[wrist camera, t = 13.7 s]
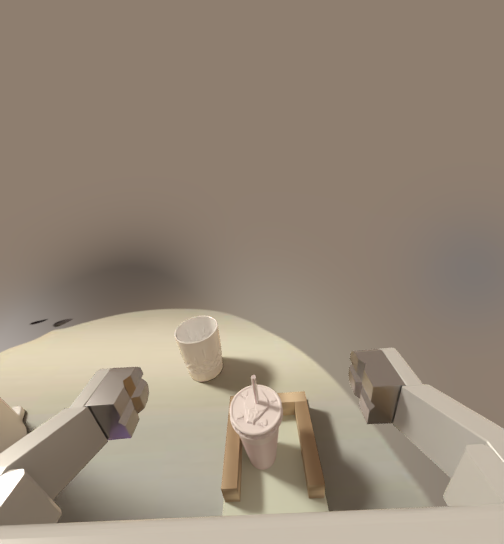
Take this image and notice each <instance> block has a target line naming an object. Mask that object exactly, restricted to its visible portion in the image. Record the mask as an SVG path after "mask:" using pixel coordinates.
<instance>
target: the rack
mask: <svg viewBox="0 0 504 544" xmlns="http://www.w3.org/2000/svg"><path fill="white" fill-rule="evenodd" d="M277 394H278V396H279V397H280V399H281V402H282V408H283V415H295V417H296V423H297V430H298V436H299V442H300V448H301V454H302V460H303V466H304V473H305V479H306V485H307V491H308V497H309V498H324V496H325V482H324V477H323V473H322V468H321V464H320V459H319V454H318V450H317V445H316V441H315V436H314V432H313V427H312V423H311V418H310V414H309V409H308V405H307V400H306V396H305V391H304V392H289V393H277ZM233 398H234V396H230V404H231V401H232V399H233ZM242 446H243V443H242V441H241V438H240V436H239V434H238V433H237V432H236V431H235V430H234V428H233V427H232V424H231V421H230V405H229V415H228V425H227V435H226V445H225V455H224V465H223V476H222V486H221V490H222V493H223V497H224V500H225V502H240V497H241V472H242Z"/></svg>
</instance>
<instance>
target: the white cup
mask: <svg viewBox="0 0 504 544" xmlns="http://www.w3.org/2000/svg"><path fill="white" fill-rule="evenodd" d="M174 336H175V339H176V342H177V344H178V347H179V350H180V352H181V355H182V358H183V360H184V363H185V365H186V367H187V369H188V372H189V374H190V376H191V377H192V379H193V380H196V381H198V382H204V381H209V380H211V379H213V378H215V377H216V376H217V375H218V374H219V373H220V372H221V370H222V368H223V362H222V351H221V343H220V336H219V330H218V323H217V321H216V320H215V319H214V318H212V317H210V316H196V317H192V318H190V319H187V320H185V321H184V322H182V323H181V324H180V325H179V326H178V327H177V328H176V330H175V333H174Z"/></svg>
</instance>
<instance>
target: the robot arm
mask: <svg viewBox="0 0 504 544" xmlns="http://www.w3.org/2000/svg"><path fill="white" fill-rule="evenodd" d="M350 360H351V362H352V365H351V366H350V367H349V381H350V385H351V388H352V390H353V393H354V394H355V395H356V396H357V397H358V398H360V402H359V407H360V409H361V411H362V413H363V416H364V418H365V420H366V422H367V424H383V423H384V424H385V423H393V425H394V426H395V427H396V428H397V429H398V430H399V431H401V433H402V434H404V435H405V436H406V437H407V438H408V439H409V440H410V441H411V442H412V443H413V444H414V445H416V446H417V447H418V448H419V449H420V450H421V451H422V452H423V453H424V454H425V455H426V456H427V457H428V458H430V459H431V460H432V461H433V462H434V463H435V464H436V465H437V466H438V467H439V468H440V469H441V470H443V471H444V472H445V473H446V474H447V475H448V476H449V477H450V478H451V479H450V482H449V484H448V486H447V488H446V491H445V493H444V496H443V497H444V499H445V501H446V503H447V505H448V506H445V507H444V506H443V507H419V508H396V509H373V510H349V511H326V512H303V513H280V514H257V515H234V516H211V517H188V518H165V519H142V520H119V521H96V522H73V523H57V522H58V520H59V518H60V517H61V515H62V513H61V509H60V508H59V507H58V506H57V504H56V503H55V502H54V501H53V500H54V498H55V497H56V496H57V495H58V494H59V493H60V492H61V491H62V490H63V489H64V488H65V487H66V486H67V485H68V484H69V483H70V481H71V480H72V479H73V478H74V477H75V476H76V475H77V474H78V473H79V472H80V471H81V470H82V469H83V468H84V467H85V466H86V464H87V463H88V462H89V461H90V460H91V459H92V458H93V457H94V456H95V455H96V454H97V453H98V452H99V451H100V450H101V449H102V447H103V446H104V445H105V444H106V443H107V442H108V440H114V439H125V438H131V437H132V435H133V433H134V431H135V428H136V426H137V424H138V422H139V416H138V413H139V412H141V411H142V410H143V409H144V408H145V406H146V403H147V401H148V395H149V388H148V384H147V382H146V381H145V380H143V379H142V378H141V377H142V375H143V372H142V370H141V368H140V367H126V368H110V369H100V370H98V371H97V372H96V373H95V374H94V375H93V377H92V378H91V379H90V381H89V382H88V383H87V385H86V386H85V387H84V389H83V390H82V391H81V393H80V394H79V395H78V397H77V398H76V399H75V401H74V402H73V403H72V404H71V406H70V407H69V408H64V409H63V410H62V411H60V412H59V413H57V414H56V415H54V416H53V417H52V418H50V419H49V420H47V421H46V422H44V423H43V424H42V425H40V426H39V427H37V428H36V429H35V430H33V431H32V432H30V433H29V434H27V430H26V427H25V425H24V423H23V417H24V413H25V410H24V409H23V408H22V407H21V406H15V407H10V406H9V405H8V404H7V403H6V402H5V401H4V400H2V399H1V398H0V544H504V429H503V428H502V427H500V426H498V425H497V424H495V423H493V422H491V421H490V420H487V419H486V418H485V417H483V416H481V415H479V414H478V413H476V412H474V411H472V410H471V409H469V408H468V407H466V406H464V405H462V404H461V403H459V402H457V401H456V400H454V399H452V398H450V397H449V396H447V395H445V394H444V393H442V392H440V391H438V390H437V389H435V388H433V387H432V386H430V385H428V384H426V385H425V384H424V385H423V383H422V382H421V381H420V379H419V378H418V377H417V376H416V374H415V373H414V372H413V370H412V369H411V368H410V367H409V365H408V364H407V363H406V361H405V360H404V359H403V358H402V356H401V355H400V354H399V353H398V351H397V350H396V349H395V348H385V349H373V350H359V351H352V352H351V354H350Z"/></svg>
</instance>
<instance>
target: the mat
mask: <svg viewBox="0 0 504 544" xmlns="http://www.w3.org/2000/svg"><path fill="white" fill-rule="evenodd" d="M326 511H329V509H328V504H327V499H326V495H325V496H324V498H309V497H308V491H307V485H306V479H305V473H304V466H303V460H302V454H301V448H300V442H299V436H298V430H297V423H296V417H295V415H283V419H282V422H281V425H280V426H279V433H278V443H277V452H276V459H275V462H274V463H273V465H272V466H271V467H269V468H268V469H265V470H260V469H257V468H255V467H254V466H253V465H252V463H251V461H250V459H249V457H248V455H247V452H246V450H245V448H244V445H243V446H242V472H241V497H240V502H225V500H224V503H223V514H222V516H234V515H257V514H280V513H303V512H326Z"/></svg>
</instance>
